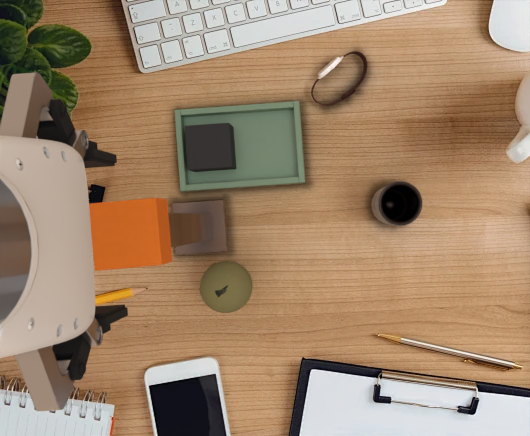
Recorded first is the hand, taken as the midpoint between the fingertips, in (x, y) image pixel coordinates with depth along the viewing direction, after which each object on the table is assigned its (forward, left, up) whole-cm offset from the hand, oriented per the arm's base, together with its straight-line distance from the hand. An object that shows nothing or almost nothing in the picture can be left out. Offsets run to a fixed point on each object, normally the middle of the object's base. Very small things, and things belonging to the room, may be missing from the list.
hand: (99, 236), depth 39 cm
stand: (0, 0, -33) cm, 33 cm away
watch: (+17, +16, -33) cm, 41 cm away
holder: (+5, +9, -33) cm, 35 cm away
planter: (+22, +1, -33) cm, 40 cm away
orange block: (0, 0, -9) cm, 9 cm away
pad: (+2, +9, -33) cm, 34 cm away
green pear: (+3, -6, -33) cm, 34 cm away
